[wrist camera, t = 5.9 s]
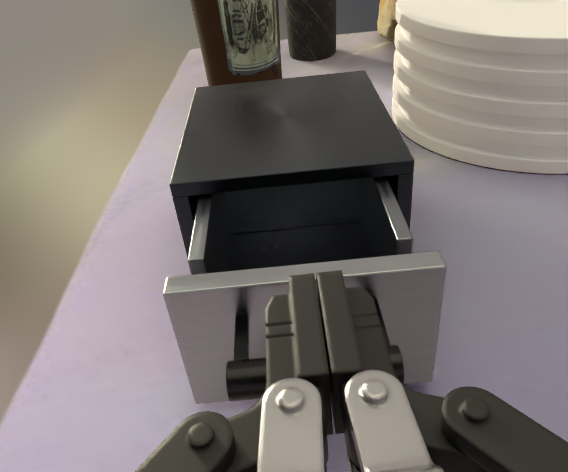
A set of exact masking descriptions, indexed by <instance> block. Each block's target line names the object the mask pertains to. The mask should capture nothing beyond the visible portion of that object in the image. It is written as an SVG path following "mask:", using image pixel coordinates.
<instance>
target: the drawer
mask: <svg viewBox="0 0 568 472" xmlns="http://www.w3.org/2000/svg"><path fill="white" fill-rule="evenodd" d="M412 246H413V237H412V235H411V233H410V230H409V228H408V226H407V223H406V221H405V219H404V216H403V214H402V212H401V209H400V207H399V205H398V202H397V200H396V198H395V195H394V193H393V191H392V188H391V186H390V184H389V182H388V179H387V177H386V176H383V177H373V178H362V179H352V180H342V181H332V182H322V183H312V184H302V185H292V186H282V187H272V188H262V189H252V190H242V191H232V192H222V193H212V194H202V195H199V198H198V204H197V210H196V215H195V221H194V227H193V233H192V239H191V245H190V251H189V257H188V263H189V267H190V271H191V275H184V276H174V277H167V278H166V282H165V287H164V292H163V296H164V299H165V302H166V306H167V309H168V312H169V316H170V319H171V322H172V326H173V329H174V332H175V336H176V339H177V342H178V346H179V349H180V352H181V356H182V359H183V362H184V366H185V369H186V372H187V376H188V379H189V382H190V386H191V389H192V392H193V396H194V399H195V402H196V404H200V403H211V402H221V401H241V400H252V399H261V398H262V396H263V394H264V392H265V389H266V384H267V374H266V334H265V327H266V326H265V308H266V306H267V304H268V303H269V301H270V299H271V297H272V296H275V295H284V294H290V285H289V276H291V275H300V274H310V273H314V276H315V283H316V290H317V282H316V273H319V272H328V271H338V270H341V271H342V274H343V278H344V283H345V287H346V288H351V287H361V286H362V287H363V288H364V289H365V290H366V291H367V292H368V293H369V294H370V295H371V296H372V297H373V299H374V303H375V306H376V310H377V315H378V317H379V320H380V324H381V328H382V331H383V335H384V338H385V342H386V345H387V349H388V353H389V356H390V360H391V363H392V367H393V370H394V373H395V374H396V376H397V378H398V379H399V380H400V381H401V382H402V383H403V384H411V383H422V382H431V381H432V378H433V370H434V362H435V354H436V346H437V337H438V329H439V321H440V313H441V305H442V297H443V289H444V281H445V273H446V265H445V263H444V261H443V258H442V256H441V254H440V252H439V251H430V252H420V253H412Z"/></svg>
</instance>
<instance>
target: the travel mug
mask: <svg viewBox="0 0 568 472" xmlns="http://www.w3.org/2000/svg"><path fill="white" fill-rule="evenodd" d="M284 8H285V17H286V25H287V34H288V44H289V52H290V56H291V57H292V58H294V59H298V60H318V59H323V58H327V57H330V56H332V55H333V54H335V52H336V0H284Z"/></svg>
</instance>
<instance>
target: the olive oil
mask: <svg viewBox="0 0 568 472" xmlns="http://www.w3.org/2000/svg"><path fill="white" fill-rule="evenodd" d="M190 2H191V6H192V10H193V15H194V19H195V24H196V28H197V33H198V37H199V41H200V46H201V51H202V55H203V60H204V65H205V70H206V75H207V80H208V85H209V86H218V85H228V84H238V83H247V82H257V81H267V80H277V79H282V70H281V54H280V33H279V10H278V0H190Z"/></svg>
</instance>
